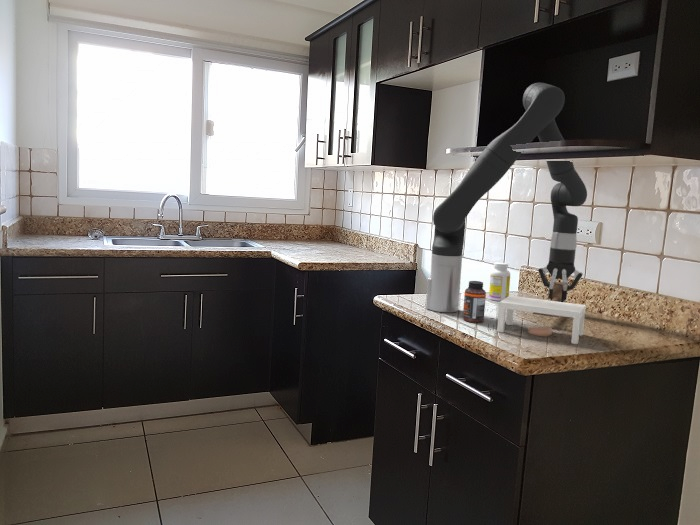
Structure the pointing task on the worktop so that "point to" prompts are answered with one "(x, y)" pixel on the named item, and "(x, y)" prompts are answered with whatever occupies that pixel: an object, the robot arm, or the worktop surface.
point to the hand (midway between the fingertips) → (557, 301)
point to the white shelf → (542, 307)
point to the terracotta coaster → (540, 330)
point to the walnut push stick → (555, 296)
